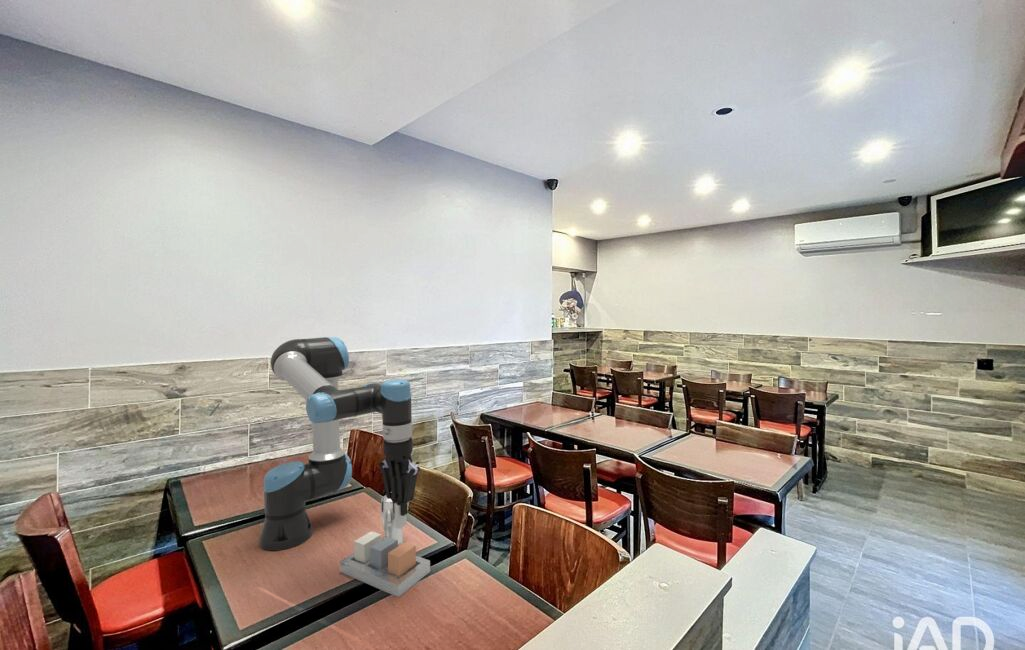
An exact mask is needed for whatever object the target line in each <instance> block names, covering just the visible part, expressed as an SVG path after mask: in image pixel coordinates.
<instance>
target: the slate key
mask: <svg viewBox="0 0 1025 650" xmlns="http://www.w3.org/2000/svg"><path fill="white" fill-rule="evenodd" d="M398 546H399V545H398V540H396V539H393V538H390V537H386V538H385V537H384V538H383V539H381V541H380V542H378V543H377V544H375V545H373V546H372V547H370V551H371V566H374V567H376V568H379V569H383V568H384V567H386V566H387V565H388V553H389V552H390V551H392V550H393V549H395V548H396V547H398Z"/></svg>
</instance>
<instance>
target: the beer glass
mask: <svg viewBox="0 0 1025 650" xmlns="http://www.w3.org/2000/svg"><path fill="white" fill-rule="evenodd" d="M380 500H381V502H380V513H381V514H380V515H381V522H382V527H383V532H384V539H385V538H386V537H390V538H393V539H396V540H398V546H399V545H401V544H402V543H404V536H403V527H402V528H400V529H398V528H395V514H394V512H393V502H392V500H391V499H388V498H387V496H386V494H385V495H384V496H382V497H381V499H380Z"/></svg>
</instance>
